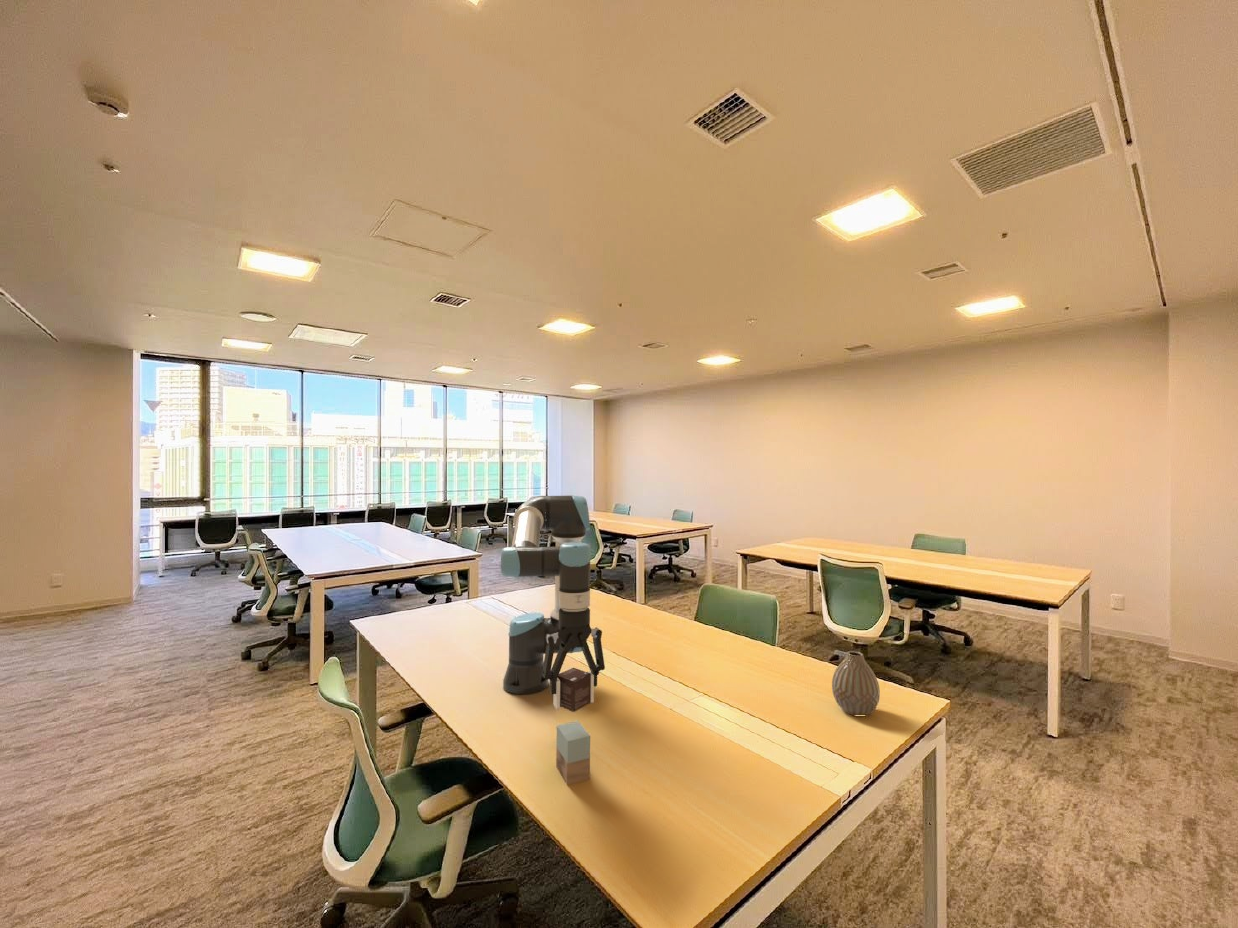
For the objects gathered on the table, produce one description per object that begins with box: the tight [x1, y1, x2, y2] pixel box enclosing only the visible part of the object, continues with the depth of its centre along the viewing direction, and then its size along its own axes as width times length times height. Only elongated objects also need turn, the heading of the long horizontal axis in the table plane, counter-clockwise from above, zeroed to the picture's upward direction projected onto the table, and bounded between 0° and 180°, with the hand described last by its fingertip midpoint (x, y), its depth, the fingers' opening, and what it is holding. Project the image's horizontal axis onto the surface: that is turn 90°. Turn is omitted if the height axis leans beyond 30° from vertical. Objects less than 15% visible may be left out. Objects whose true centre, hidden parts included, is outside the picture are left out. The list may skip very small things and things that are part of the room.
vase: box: [831, 650, 881, 716], centre depth 150 cm, size 13×13×18 cm
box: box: [558, 667, 591, 713], centre depth 119 cm, size 6×6×7 cm
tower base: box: [555, 747, 591, 786], centre depth 118 cm, size 8×6×5 cm
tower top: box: [555, 720, 591, 763], centre depth 118 cm, size 8×6×5 cm
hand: (573, 703), depth 119 cm, fingers closed on box, 8 cm apart
